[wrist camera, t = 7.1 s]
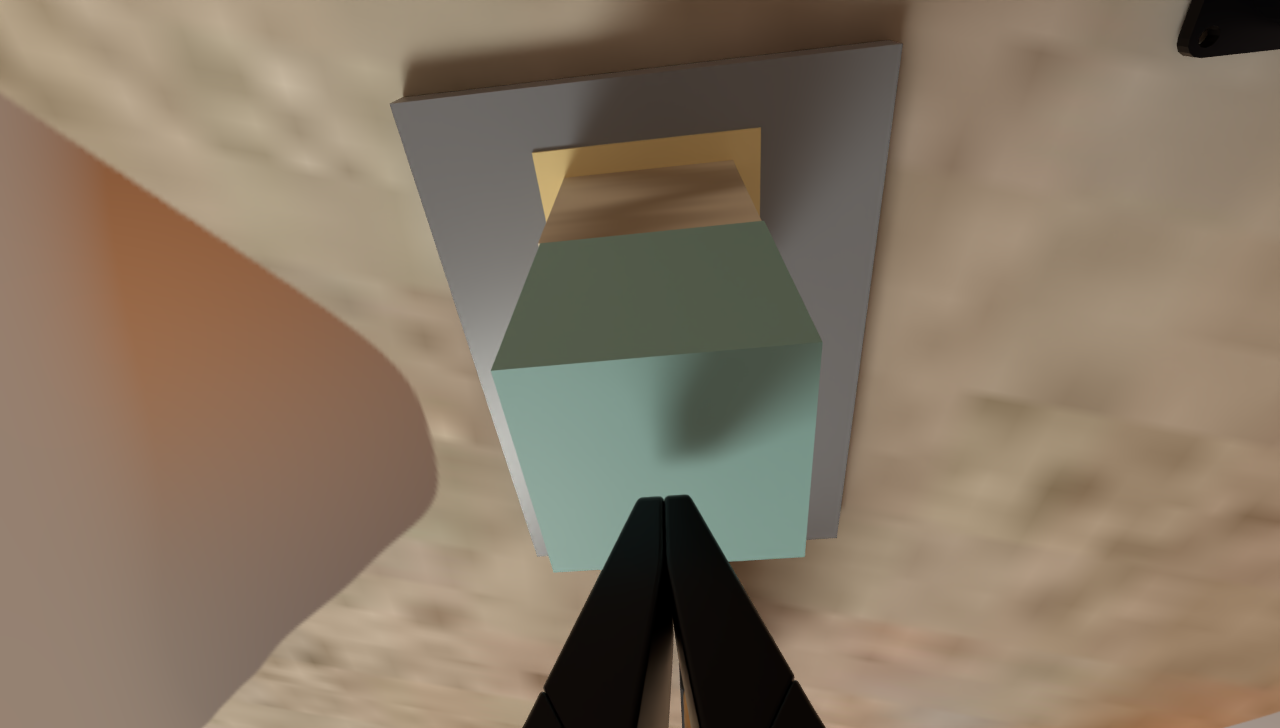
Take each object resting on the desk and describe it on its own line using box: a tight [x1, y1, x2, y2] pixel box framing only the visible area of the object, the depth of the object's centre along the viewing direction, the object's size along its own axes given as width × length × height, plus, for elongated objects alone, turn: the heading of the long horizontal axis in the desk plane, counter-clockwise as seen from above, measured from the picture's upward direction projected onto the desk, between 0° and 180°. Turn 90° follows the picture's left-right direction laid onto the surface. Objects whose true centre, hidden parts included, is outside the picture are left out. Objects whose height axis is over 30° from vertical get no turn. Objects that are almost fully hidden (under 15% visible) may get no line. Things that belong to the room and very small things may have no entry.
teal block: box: [491, 221, 823, 572], centre depth 12 cm, size 5×5×5 cm
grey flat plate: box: [390, 40, 903, 556], centre depth 21 cm, size 14×20×1 cm
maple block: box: [538, 160, 761, 246], centre depth 16 cm, size 5×5×5 cm
